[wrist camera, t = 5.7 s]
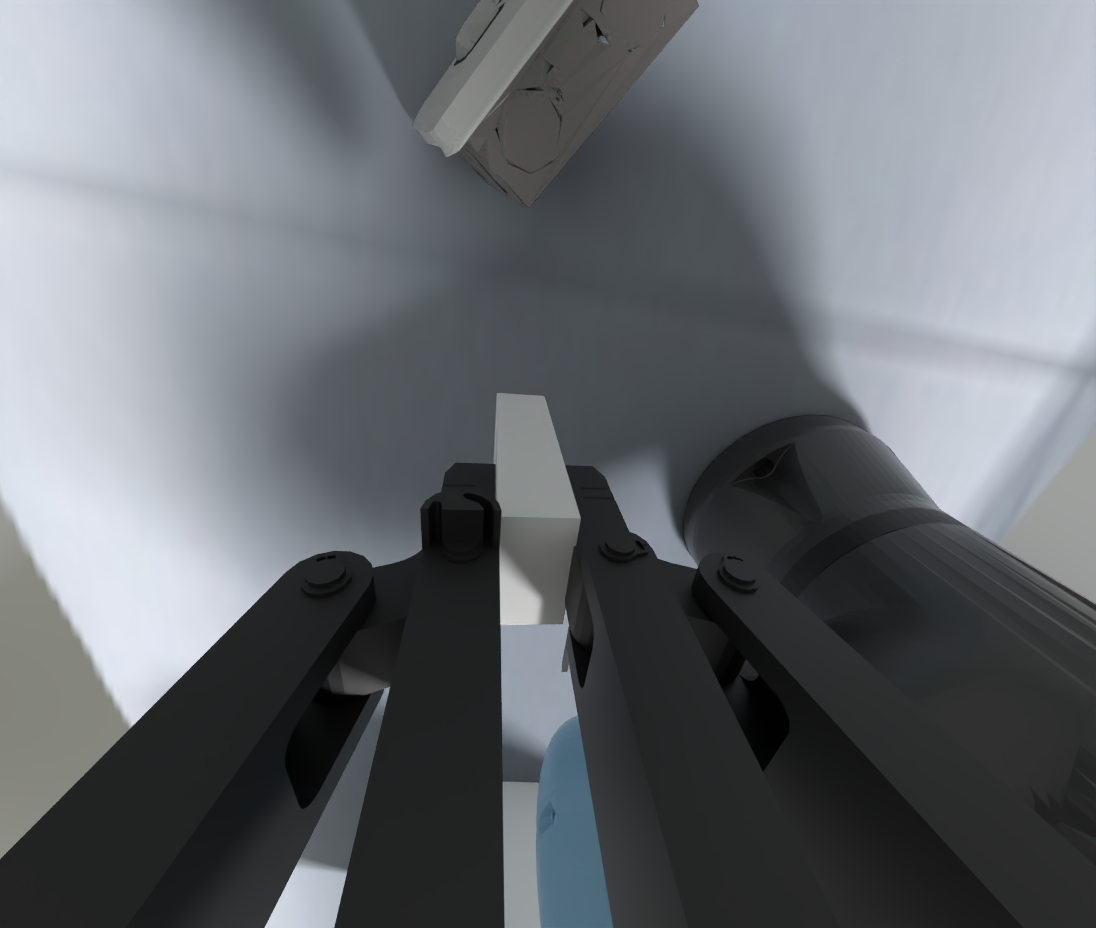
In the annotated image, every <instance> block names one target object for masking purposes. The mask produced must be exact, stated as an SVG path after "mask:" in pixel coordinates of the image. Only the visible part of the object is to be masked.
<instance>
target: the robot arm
mask: <svg viewBox="0 0 1096 928" xmlns="http://www.w3.org/2000/svg"><path fill="white" fill-rule="evenodd" d="M420 510H421V530H422V550H421V551H420V552H418V553H417V554H416V555H414V556H412V557H410V558H408V559H406V560H403V561H400V562H396V563H393V564H388V565H384V566H379V567H375V568H372V564H371V563H370V562H369V561H368V560H367V559H366V558H365V557H364V556H362V555H359V554H356V553H353V552H349V551H332V552H327V553H322V554H317V555H314V556H312V557H310V558H307V559H305V560H303V561H300V562H299V563H298V564H296V565H295V566H294V567H292V568H291V569H290V570H288V571H287V572H286V573H285V574H284V575H283V576H282V577H281V578H280V579H279V580H278V581H277V582H276V583H275V584H274V585H273V586H272V587H271V588H270V589H269V590H268V591H267V592H266V593H265V594H264V595H263V596H262V597H261V598H260V599H259V600H258V601H257V602H256V603H255V604H254V605H253V606H252V607H251V608H250V609H249V610H248V611H247V612H246V613H245V614H244V615H243V616H242V617H241V618H240V619H239V620H238V621H237V622H236V623H235V624H234V625H233V626H232V627H231V628H230V629H229V630H228V631H227V632H226V633H225V634H224V635H223V636H222V637H221V638H220V639H219V640H218V641H217V642H216V643H215V644H214V645H213V646H212V647H211V648H210V649H209V650H208V651H207V652H206V653H205V654H204V655H203V656H202V657H201V658H200V659H199V660H198V661H197V662H196V663H195V664H194V665H193V666H192V667H191V668H190V669H189V670H188V671H187V672H186V673H185V674H184V675H183V676H182V677H181V678H180V679H179V680H178V681H177V682H176V683H175V684H174V685H173V686H172V687H171V688H170V689H169V690H168V691H167V692H166V693H165V694H164V695H163V696H162V697H161V698H160V699H159V700H158V701H157V702H156V703H155V704H154V705H153V706H152V707H151V708H150V709H149V710H148V711H147V712H146V713H145V714H144V715H143V716H142V717H141V718H140V719H139V720H138V721H137V722H136V723H135V724H134V725H133V726H132V727H131V728H130V729H129V730H128V731H127V733H125V734H124V735H123V736H122V737H121V738H120V740H118V741H117V742H116V744H115V745H113V746H112V747H111V749H110V750H109V751H108V752H107V753H106V754H104V755H103V757H102V758H101V759H100V760H99V761H98V762H97V763H96V764H95V765H94V766H93V767H92V768H91V769H90V770H89V771H88V772H87V773H86V774H85V775H84V776H83V777H82V778H81V779H80V780H79V781H78V782H77V783H76V784H75V785H74V786H73V787H72V788H71V789H70V790H69V791H68V792H67V793H66V794H65V795H64V796H63V797H62V798H61V799H60V800H59V801H58V802H57V803H56V804H55V805H54V806H53V807H52V808H51V809H50V810H49V811H48V812H47V813H46V814H45V815H44V816H43V817H42V818H41V819H40V820H39V821H38V822H37V823H36V824H35V825H34V826H33V827H32V828H31V829H30V830H29V831H28V832H27V833H26V834H25V835H24V836H23V837H22V838H21V839H20V840H19V841H18V842H17V843H16V844H15V845H14V846H13V847H12V848H11V849H10V850H9V851H8V852H7V853H6V854H5V855H4V856H3V857H2V858H1V859H0V928H264V927H265V926H266V924H267V922H268V920H269V918H270V916H271V914H272V912H273V910H274V908H275V906H276V904H277V902H278V900H279V898H280V896H281V894H282V892H283V890H284V888H285V886H286V884H287V882H288V880H289V878H290V876H291V874H292V872H293V870H294V868H295V866H296V864H297V862H298V860H299V858H300V856H301V854H302V852H303V850H304V848H305V847H306V845H307V843H308V841H309V839H310V837H311V835H312V833H313V831H314V829H315V827H316V825H317V823H318V821H319V819H320V817H321V815H322V813H323V811H324V809H325V807H326V805H327V803H328V801H329V799H330V797H331V795H332V793H333V791H334V789H335V787H336V785H337V783H338V781H339V779H340V777H341V775H342V773H343V771H344V769H345V768H346V766H347V764H348V762H349V760H350V758H351V756H352V754H353V752H354V750H355V748H356V746H357V744H358V742H359V740H360V738H361V736H362V734H363V732H364V730H365V728H366V726H367V724H368V722H369V720H370V718H371V716H372V714H373V712H374V710H375V708H376V706H377V704H378V702H379V700H380V698H381V696H382V694H383V691H384V689H385V688H388V687H390V690H389V695H388V699H387V703H386V708H385V712H384V716H383V721H382V725H381V729H380V733H379V738H378V742H377V746H376V751H375V755H374V759H373V764H372V768H371V772H370V777H369V781H368V785H367V789H366V794H365V798H364V802H363V807H362V811H361V815H360V820H359V824H358V828H357V833H356V837H355V841H354V846H353V850H352V854H351V858H350V863H349V867H348V871H347V876H346V880H345V884H344V889H343V893H342V897H341V902H340V906H339V910H338V914H337V919H336V923H335V927H334V928H505V921H504V848H503V775H502V702H501V629H500V625H533V624H563V620H564V614H565V608H566V611H567V616H568V621H569V629H568V634H567V640H566V645H565V651H564V656H563V662H562V672H567V670H568V665H570V671H571V677H572V683H573V689H574V695H575V701H576V707H577V713H578V716H576V717H573V718H571V719H570V720H568V721H566V722H565V723H564V724H563V725H562V726H561V727H560V728H559V729H558V730H557V731H556V733H555V734H554V736H553V737H552V739H551V741H550V743H549V745H548V748H547V750H546V753H545V757H544V760H543V764H542V769H541V774H540V780H539V787H538V797H537V813H536V872H537V892H538V905H539V917H540V926H541V928H1096V603H1095V602H1093V601H1091V600H1089V599H1088V598H1086V597H1084V596H1083V595H1081V594H1079V593H1078V592H1076V591H1074V590H1073V589H1071V588H1069V587H1068V586H1066V585H1064V584H1063V583H1061V582H1059V581H1058V580H1056V579H1054V578H1053V577H1051V576H1049V575H1048V574H1046V573H1044V572H1042V571H1041V570H1039V569H1038V568H1036V567H1034V566H1033V565H1031V564H1029V563H1028V562H1026V561H1024V560H1022V559H1021V558H1019V557H1017V556H1016V555H1014V554H1012V553H1011V552H1009V551H1007V550H1005V549H1004V548H1002V547H1001V546H999V545H997V544H996V543H994V542H992V541H991V540H989V539H987V538H986V537H984V536H983V535H981V534H979V533H977V532H976V531H974V530H972V529H971V528H969V527H967V526H966V525H964V524H962V523H961V522H959V521H958V520H956V519H954V518H953V517H951V516H950V515H948V514H947V513H945V512H943V511H942V510H941V509H939V507H938V506H937V505H936V504H935V503H934V501H933V500H932V499H931V498H930V496H929V495H928V494H927V493H926V492H925V490H924V489H923V488H922V487H921V485H920V484H919V483H918V482H917V481H916V479H915V478H914V477H913V476H912V475H911V473H910V472H909V471H908V470H907V469H906V467H905V466H904V465H903V464H902V463H901V462H900V460H899V459H898V458H897V457H896V455H895V454H894V453H893V451H892V450H891V449H890V448H889V447H888V446H887V445H886V444H885V443H883V442H882V441H881V440H880V439H878V438H877V437H875V436H874V435H872V434H870V433H868V432H866V431H864V430H862V429H861V428H859V427H857V426H855V425H853V424H851V423H849V422H847V421H844V420H842V419H838V418H835V417H830V416H822V415H807V416H798V417H792V418H787V419H784V420H780V421H777V422H774V423H771V424H769V425H766V426H764V427H761V428H759V429H757V430H755V431H753V432H751V433H750V434H748V435H746V436H745V437H743V438H741V439H740V440H738V441H737V442H735V443H734V444H733V445H731V446H730V447H729V448H728V449H726V450H725V451H724V452H723V453H722V454H721V455H720V456H719V457H718V458H717V459H716V460H715V461H714V462H713V463H712V464H711V465H710V466H709V467H708V468H707V470H706V471H705V472H704V474H703V475H702V476H701V478H700V479H699V481H698V482H697V484H696V486H695V488H694V490H693V491H692V494H691V496H690V498H689V501H688V504H687V507H686V511H685V516H684V538H685V542H686V546H687V548H688V551H689V553H690V554H691V556H692V558H693V559H694V561H695V563H696V564H697V566H698V569H694V568H690V567H686V566H682V565H677V564H673V563H669V562H666V561H663V560H660V559H658V558H657V557H656V555H655V553H654V551H653V549H652V548H651V547H650V545H649V544H648V543H647V541H645V540H644V539H642V538H641V537H639V536H638V535H636V534H634V533H631V532H629V530H628V528H627V526H626V523H625V521H624V519H623V517H622V514H621V512H620V510H619V508H618V506H617V503H616V501H615V500H614V497H613V494H612V492H611V490H610V488H609V485H608V483H607V481H606V479H605V477H604V476H603V475H602V474H601V473H600V472H598V471H597V470H596V469H595V468H594V467H593V466H567V465H565V464H564V460H563V457H562V453H561V450H560V447H559V443H558V440H557V437H556V433H555V430H554V427H553V423H552V420H551V417H550V413H549V410H548V407H547V403H546V400H545V396H539V395H523V394H507V393H497V400H496V421H495V443H494V464H479V463H455V464H454V465H453V466H452V467H451V468H450V469H449V470H448V471H446V472H445V477H444V481H443V487H442V491H441V493H437V494H435V495H434V496H432V497H430V498H429V499H427V500H426V501H425V503H424V504H423V506H422V507H421V509H420Z"/></svg>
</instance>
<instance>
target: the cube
mask: <svg viewBox="0 0 1096 928" xmlns="http://www.w3.org/2000/svg"><path fill="white" fill-rule="evenodd" d="M538 787H539V783H537V782H503V848H504V921H505V928H541V926H540V917H539V905H538V892H537V872H536V813H537V797H538Z"/></svg>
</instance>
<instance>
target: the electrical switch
mask: <svg viewBox="0 0 1096 928" xmlns="http://www.w3.org/2000/svg"><path fill="white" fill-rule="evenodd" d="M698 7H699V5H698V2H697V0H496V1H495V2H494V1H493V0H480V2H479V3H478V4H477V6H476V7H475V8H474V10H473V11H472V13H471V14H470V15H469V17H468V18H467V19H466V21H465V22H464V23H463V25H462V27H461V29H460V31H459V33H458V35H457V37H456V39H455V43H456V58H455V59H454V61H453V62H452V63H451V65H450V66H449V68H448V69H447V71H446V72H445V73H444V75H443V76H442V78H441V79H440V81H439V82H438V83H437V85H436V86H435V88H434V89H433V91H432V92H431V93H430V95H429V96H428V98H427V99H426V100H425V102H424V103H423V105H422V106H421V108H420V110H419V112H418V114H417V116H416V118H415V120H414V122H413V124H412V125H413V127H414V128H415V130H416V131H417V132H418V133H419V135H420V136H421V137H422V138H423V139H424V141H425V142H426V143H427V145H428V144H431V145H435V146H438V147H440V148H441V149H442V151H443V152H444V153H443V154H444V155H445V156H446V157H449V156H451V155H453V154H455V153H456V152H459V154H460V155H461V156H462V157H463V158H464V160H465V161H466V162H467V163H468V164H470V165H471V166H472V167H473V168H474V169H475V171H476V172H477V173H478V174H479V175H480V176H481V177H482V178H483V179H484V180H485V181H486V182H487V183H488V184H490V185H491V186H493V187H494V188H496V189H497V190H499V191H500V192H502V193H503V194H505V195H506V196H508V197H509V198H511V199H512V200H514V201H515V202H517V203H519V204H520V205H522V206H523V207H525V206H524V205H523V204H522V202H521V201H520V200H519V199H518V197H519V198H520V199H521V200H522V201H523V202H524V204H525V205H526V206H527V207H528V208H529V207H530V206H531V205H532V203H533V202H534V201H535V200H536V199H537V197H538V196H539V195H540V194H541V193H542V192H543V190H544V189H545V188H546V187H547V186H548V184H549V183H550V182H551V181H552V180H553V178H554V177H555V176H556V175H557V174H558V173H559V171H560V170H561V169H562V168H563V167H564V165H565V164H566V163H567V162H568V161H569V159H570V158H571V157H572V156H573V155H574V154H575V152H576V151H577V150H578V149H579V148H580V146H581V145H582V144H583V143H584V142H585V141H586V139H587V138H588V137H589V136H590V135H591V133H592V132H593V131H594V130H595V129H596V127H597V126H598V125H599V124H600V123H601V122H602V120H603V119H604V118H605V117H606V116H607V114H608V113H609V112H610V111H611V110H612V109H613V107H614V106H615V105H616V104H617V103H618V101H619V100H620V99H621V98H622V97H623V95H624V94H625V93H626V92H627V91H628V90H629V88H630V87H631V86H632V85H633V84H634V82H635V81H636V80H637V79H638V78H639V76H640V75H641V74H642V73H643V72H644V71H645V69H646V68H647V67H648V66H649V65H650V63H651V62H652V61H653V60H654V59H655V58H656V56H657V55H658V54H659V53H660V52H661V50H662V49H663V48H664V47H665V46H666V44H667V43H668V42H669V41H670V40H671V39H672V37H673V36H674V35H675V34H676V33H677V31H678V30H679V29H680V28H681V27H682V26H683V24H684V23H685V22H686V21H687V20H688V18H689V17H690V16H691V15H692V14H693V12H694V11H695V10H696V9H697V8H698ZM663 21H664V27H662V25H663ZM601 35H602V36H605V38H606V40H607V41H608V43H609V44H610V46H609V45H606V44H603V43H601V42H598V39H599V37H600V36H601ZM631 49H634V50H633V51H632V50H631ZM559 89H560V91H561V94H562V97H563V100H564V101H563V100H562V98H561V97H560V96H559V95H558V93H557V91H558V90H559ZM555 108H556V109H557V110H558V112H559V113H560V114H561V119H559V117H558V114H557V112H556V109H555ZM553 159H554V162H552V163H550V164H548V163H549V162H551V161H552V160H553ZM546 164H547V165H546ZM516 167H517V168H516ZM518 168H519V169H518ZM520 169H521V170H520ZM525 171H526V172H525ZM527 172H528V173H527ZM507 184H508V185H509V186H510V187H511V188H510V187H509V186H508V185H507ZM511 189H512V190H513V191H514V192H515V193H516V194H517V196H518V197H517V196H516V195H515V193H514V192H513V191H512V190H511ZM525 208H526V207H525Z"/></svg>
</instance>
